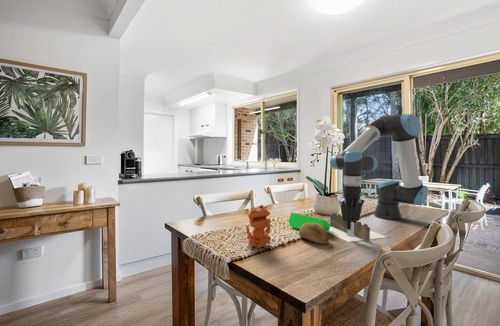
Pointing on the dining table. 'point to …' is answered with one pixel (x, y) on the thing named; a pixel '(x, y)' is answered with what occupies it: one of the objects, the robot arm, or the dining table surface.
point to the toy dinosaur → (259, 227)
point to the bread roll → (314, 233)
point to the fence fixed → (337, 221)
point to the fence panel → (362, 231)
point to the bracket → (306, 221)
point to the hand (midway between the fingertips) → (350, 236)
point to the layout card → (343, 236)
